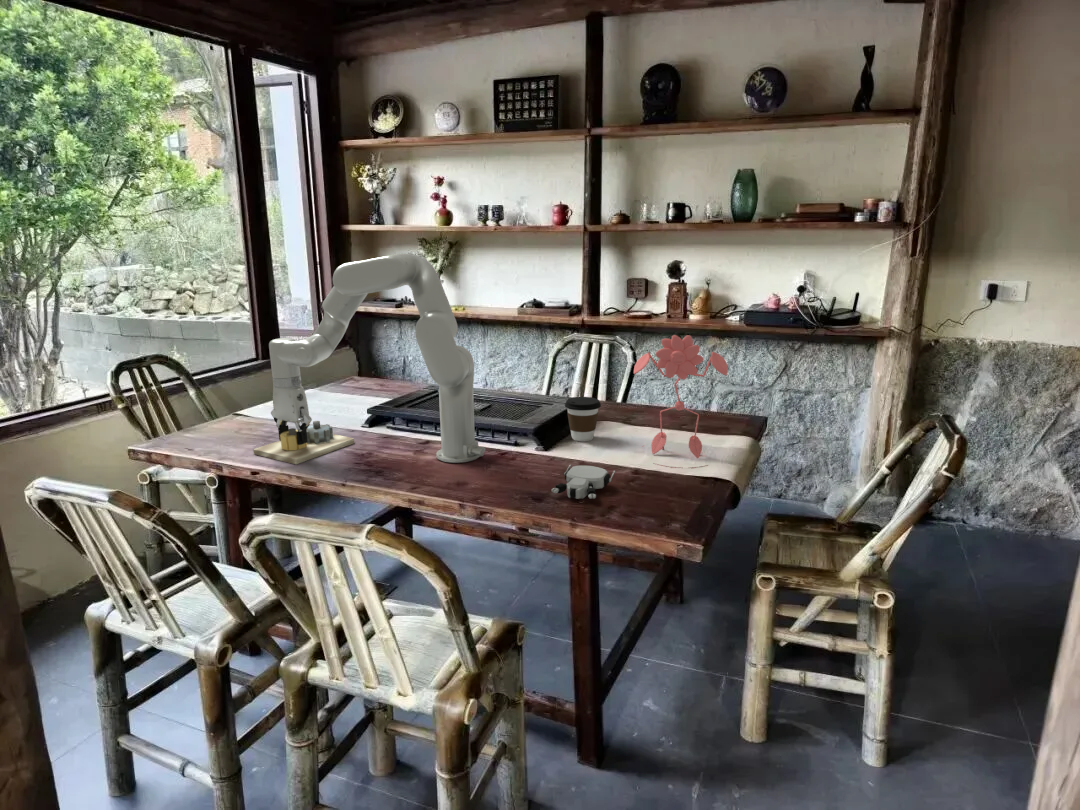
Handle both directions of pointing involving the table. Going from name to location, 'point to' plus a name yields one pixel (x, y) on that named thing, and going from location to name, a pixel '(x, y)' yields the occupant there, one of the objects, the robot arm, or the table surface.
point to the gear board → (317, 445)
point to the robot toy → (583, 481)
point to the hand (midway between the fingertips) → (293, 441)
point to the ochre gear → (290, 441)
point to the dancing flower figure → (680, 362)
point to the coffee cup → (582, 417)
